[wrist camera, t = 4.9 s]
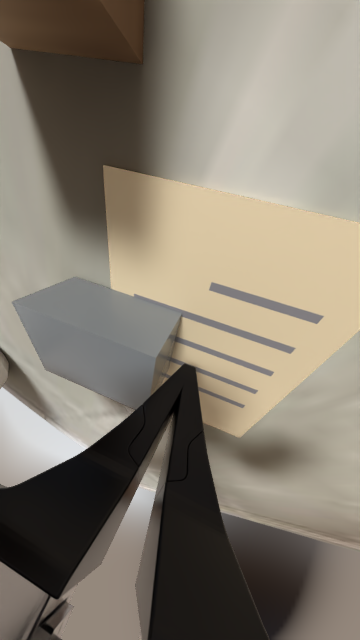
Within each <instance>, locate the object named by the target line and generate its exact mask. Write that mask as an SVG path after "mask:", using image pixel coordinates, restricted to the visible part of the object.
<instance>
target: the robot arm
mask: <svg viewBox="0 0 360 640" xmlns="http://www.w3.org/2000/svg"><path fill="white" fill-rule="evenodd" d="M172 415H173V418H172V422H171V427H170V431H169V436H168V440H167V445H166V449H165V454H164V459H163V463H162V468H161V472H160V477H159V481H158V486H157V490H156V495H155V501H154V504H153V509H152V513H151V517H150V522H149V526H148V531H147V535H146V540H145V544H144V549H143V553H142V558H141V562H140V567H139V571H138V576H137V580H136V584H135V587H136V595H137V603H138V611H139V619H140V627H141V632H140V636H139V640H270V639H269V637H268V635H267V633H266V630H265V628H264V626H263V624H262V621H261V619H260V616H259V614H258V611H257V609H256V606H255V604H254V601H253V599H252V596H251V594H250V591H249V589H248V586H247V584H246V581H245V579H244V576H243V574H242V571H241V569H240V566H239V564H238V561H237V559H236V556H235V554H234V551H233V548H232V546H231V543H230V541H229V539H228V536H227V533H226V530H225V526H224V523H223V520H222V516H221V512H220V508H219V504H218V500H217V495H216V491H215V487H214V482H213V478H212V474H211V469H210V465H209V460H208V455H207V449H206V442H205V435H204V428H203V420H202V412H201V405H200V397H199V389H198V381H197V374H196V368H195V367H194V366H191V365H189V364H186V363H184V364H183V365H182V366H181V367H180V368H179V369H178V370H177V371H176V372H175V373H174V374H173V375H172V376H171V377H170V378H169V379H167V380H166V381H165V382H164V383H163V384H162V385H161V386H160V387H159V388H158V389H157V390H156V391H155V392H154V393H153V394H152V395H151V396H150V397H149V398H148V399H147V400H146V401H145V402H144V403H143V405H140V406H139V407H138V408H137V409H136V410H135V411H134V412H133V413H132V414H131V415H130V416H129V417H128V418H126V419H125V420H124V421H123V422H121V423H120V424H119V425H118V426H116V427H115V428H114V429H113V430H111V431H110V432H109V433H107V434H106V435H105V436H103V437H102V438H101V439H100V440H98V441H97V442H96V443H94V444H93V445H92V446H90V447H89V448H87V449H86V450H85V451H83V452H81V453H80V454H78V455H77V456H75V457H73V458H71V459H69V460H67V461H65V462H63V463H61V464H59V465H57V466H55V467H53V468H51V469H49V470H47V471H45V472H43V473H41V474H39V475H37V476H35V477H33V478H31V479H29V480H27V481H25V482H22V483H20V484H18V485H15V486H13V487H5V486H3V485H1V484H0V640H62V639H61V636H62V634H63V631H64V629H65V627H66V624H67V622H68V619H69V617H70V615H71V612H72V610H73V608H74V606H72V605H71V604H69V603H70V601H71V598H72V596H73V594H74V592H75V589H76V587H77V585H78V583H79V582H80V581H81V580H82V579H84V578H85V577H86V576H87V575H88V574H90V573H91V572H92V571H93V570H95V569H96V568H97V567H98V566H99V565H101V563H102V561H103V559H104V557H105V555H106V553H107V551H108V549H109V547H110V544H111V542H112V540H113V538H114V536H115V534H116V532H117V530H118V528H119V526H120V523H121V521H122V519H123V517H124V515H125V513H126V511H127V509H128V507H129V505H130V503H131V501H132V499H133V496H134V494H135V492H136V490H137V488H138V486H139V484H140V482H141V480H142V478H143V476H144V474H145V472H146V469H147V467H148V465H149V463H150V461H151V459H152V457H153V455H154V453H155V451H156V449H157V446H158V444H159V442H160V440H161V438H162V436H163V434H164V432H165V430H166V428H167V426H168V424H169V421H170V419H171V417H172Z"/></svg>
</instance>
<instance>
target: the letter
mask: <svg viewBox="0 0 360 640" xmlns="http://www.w3.org/2000/svg"><path fill="white" fill-rule="evenodd" d="M103 175H104V189H105V204H106V219H107V234H108V249H109V263H110V278H111V289H113V290H116V291H119V292H122V293H125V294H128V295H131V296H134V297H137V298H140V299H142V300H145V301H148V302H151V303H154V304H157V305H160V306H163V307H166V308H169V309H172V310H175V311H178V312H181V313H182V316H181V320H180V325H179V329H178V333H177V337H176V341H175V346H174V350H173V354H172V358H171V362H170V367H169V369H168V372H167V374H166V376H165V378H164V380H163V382H162V384H163V383H164V382H165V381H166V380H167V379H169V378H170V377H171V376H172V375H173V374H174V373H175V372H176V371H177V370H178V369H179V368H180V367H181V366H182V365H183V364H184V363H186V364H189V365H191V366H194V367H195V368H196V374H197V381H198V389H199V397H200V405H201V412H202V420H203V423H206V424H208V425H210V426H213V427H215V428H217V429H220V430H222V431H224V432H227V433H229V434H231V435H234V436H236V437H238V438H240V437H241V436H242V435H243V434H244V433H245V432H247V431H248V430H249V429H250V428H251V427H252V426H253V425H254V424H255V423H257V422H258V421H259V420H260V419H261V418H262V417H263V416H264V415H266V414H267V413H268V412H269V411H270V410H271V409H272V408H273V407H274V406H276V405H277V404H278V403H279V402H280V401H281V400H282V399H283V398H284V397H286V396H287V395H288V394H289V393H290V392H291V391H292V390H293V389H295V388H296V387H297V386H298V385H299V384H300V383H301V382H302V381H303V380H305V379H306V378H307V377H308V376H309V375H310V374H311V373H312V372H313V371H315V370H316V369H317V368H318V367H319V366H320V365H321V364H322V363H324V362H325V361H326V360H327V359H328V358H329V357H330V356H331V355H332V354H334V353H335V352H336V351H337V350H338V349H339V348H340V347H341V346H342V345H344V344H345V343H346V342H347V341H348V340H349V339H350V338H351V337H352V336H354V335H355V334H356V333H357V332H358V331H359V330H360V223H358V222H354V221H349V220H345V219H341V218H336V217H332V216H327V215H323V214H319V213H314V212H310V211H305V210H301V209H296V208H292V207H288V206H283V205H279V204H274V203H270V202H265V201H261V200H257V199H252V198H248V197H243V196H239V195H235V194H230V193H226V192H221V191H217V190H212V189H208V188H204V187H199V186H195V185H190V184H186V183H181V182H177V181H173V180H168V179H164V178H159V177H155V176H151V175H146V174H142V173H137V172H133V171H128V170H124V169H120V168H115V167H111V166H106V165H103Z"/></svg>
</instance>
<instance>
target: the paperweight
mask: <svg viewBox="0 0 360 640" xmlns="http://www.w3.org/2000/svg"><path fill="white" fill-rule="evenodd" d="M12 303H13V305H14V307H15V309H16V311H17V313H18V316H19V318H20V320H21V322H22V324H23V326H24V328H25V330H26V332H27V334H28V336H29V338H30V340H31V342H32V344H33V346H34V348H35V350H36V352H37V354H38V356H39V358H40V360H41V362H42V364H43V366H44V368H45V370H47V371H49V372H51V373H54V374H56V375H58V376H60V377H63V378H65V379H67V380H69V381H72V382H74V383H76V384H78V385H81V386H83V387H85V388H87V389H90V390H92V391H94V392H96V393H99V394H101V395H103V396H105V397H108V398H110V399H112V400H114V401H117V402H119V403H121V404H123V405H126V406H128V407H130V408H132V409H135V410H136V409H137V408H138V407H139V406H140V405H143V403H144V402H145V401H146V400H147V399H148V398H149V397H150V396H151V395H152V394H153V393H154V392H155V391H156V390H157V389H158V388H159V387H160V386H161V385H162V382H163V380H164V378H165V376H166V374H167V372H168V369H169V367H170V362H171V358H172V354H173V350H174V346H175V341H176V337H177V333H178V329H179V325H180V320H181V316H182V313H181V312H178V311H175V310H172V309H169V308H166V307H163V306H160V305H157V304H154V303H151V302H148V301H145V300H142V299H140V298H137V297H134V296H131V295H128V294H125V293H122V292H119V291H116V290H113V289H110V288H107V287H104V286H101V285H98V284H95V283H92V282H90V281H87V280H84V279H81V278H78V277H73V278H71V279H68V280H65V281H63V282H60V283H58V284H55V285H53V286H50V287H48V288H45V289H43V290H40V291H38V292H35V293H33V294H30V295H28V296H25V297H23V298H20V299H17V300H15V301H12Z"/></svg>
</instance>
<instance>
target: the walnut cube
mask: <svg viewBox="0 0 360 640" xmlns="http://www.w3.org/2000/svg"><path fill="white" fill-rule="evenodd" d="M144 2H145V0H0V41H2V42H3V43H4V44H6V45H7V46H9V47H10V48H16V49H24V50H32V51H40V52H48V53H56V54H64V55H73V56H81V57H89V58H97V59H105V60H113V61H121V62H129V63H137V64H143V36H144Z"/></svg>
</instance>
